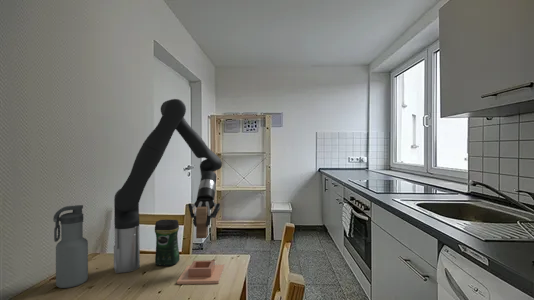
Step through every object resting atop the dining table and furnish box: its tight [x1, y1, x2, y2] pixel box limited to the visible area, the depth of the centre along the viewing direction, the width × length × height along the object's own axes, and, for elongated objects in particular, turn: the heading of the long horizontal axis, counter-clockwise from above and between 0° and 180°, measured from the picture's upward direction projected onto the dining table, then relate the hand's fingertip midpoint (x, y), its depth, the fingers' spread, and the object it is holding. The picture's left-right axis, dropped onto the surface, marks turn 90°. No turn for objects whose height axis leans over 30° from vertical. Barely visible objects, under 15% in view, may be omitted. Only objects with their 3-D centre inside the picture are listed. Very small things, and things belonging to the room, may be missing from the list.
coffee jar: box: [154, 219, 180, 266], centre depth 123 cm, size 10×8×19 cm
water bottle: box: [52, 204, 89, 289], centre depth 105 cm, size 10×10×28 cm
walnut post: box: [195, 207, 209, 239], centre depth 118 cm, size 4×4×12 cm
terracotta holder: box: [176, 259, 225, 285], centre depth 110 cm, size 15×15×4 cm
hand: (201, 225), depth 116 cm, fingers closed on walnut post, 4 cm apart
